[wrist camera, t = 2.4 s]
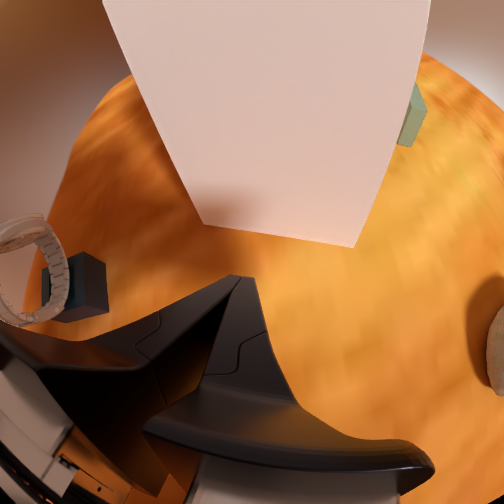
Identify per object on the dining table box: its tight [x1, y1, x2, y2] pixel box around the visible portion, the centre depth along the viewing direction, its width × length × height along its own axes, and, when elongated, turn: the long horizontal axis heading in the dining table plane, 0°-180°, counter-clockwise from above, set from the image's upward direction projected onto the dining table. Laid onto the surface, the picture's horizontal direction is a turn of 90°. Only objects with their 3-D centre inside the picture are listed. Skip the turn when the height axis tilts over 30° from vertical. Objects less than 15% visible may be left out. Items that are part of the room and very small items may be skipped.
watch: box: [0, 213, 109, 328], centre depth 15 cm, size 6×8×11 cm
